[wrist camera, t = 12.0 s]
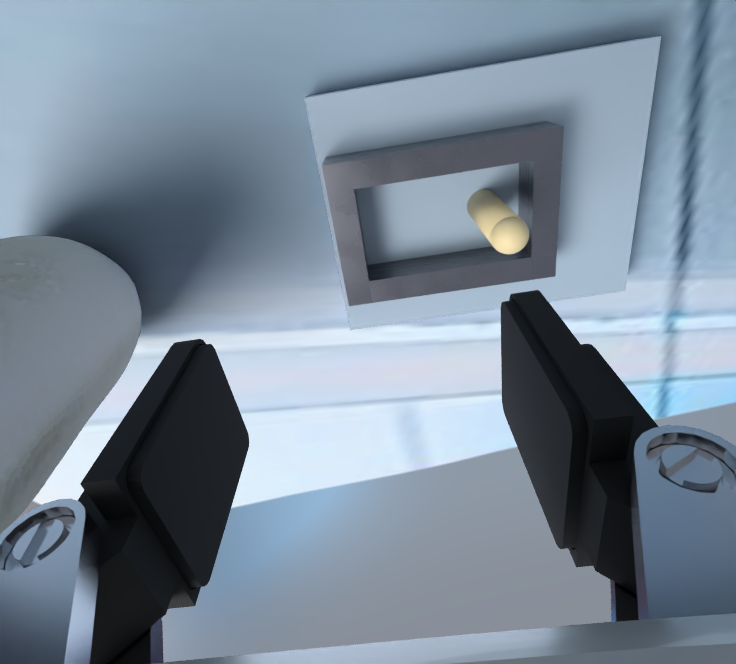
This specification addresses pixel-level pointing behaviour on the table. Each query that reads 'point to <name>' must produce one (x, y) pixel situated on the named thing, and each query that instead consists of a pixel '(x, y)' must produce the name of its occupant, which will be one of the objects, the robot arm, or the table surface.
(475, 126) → the board
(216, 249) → the table surface
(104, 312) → the tall cream vase
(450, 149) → the steel link
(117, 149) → the table surface
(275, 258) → the table surface
